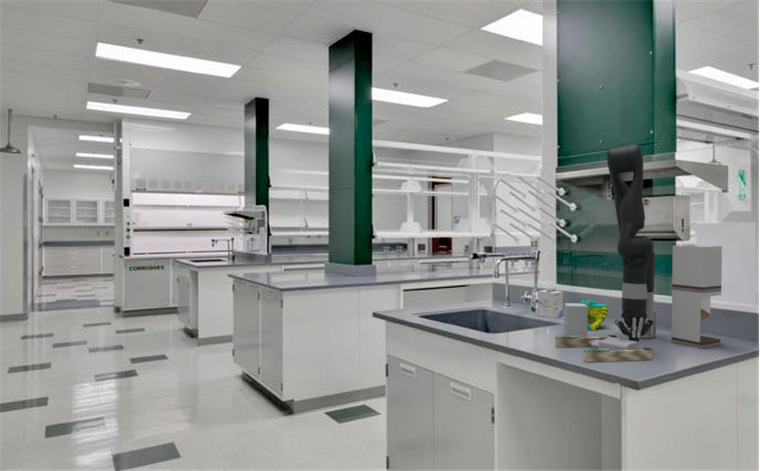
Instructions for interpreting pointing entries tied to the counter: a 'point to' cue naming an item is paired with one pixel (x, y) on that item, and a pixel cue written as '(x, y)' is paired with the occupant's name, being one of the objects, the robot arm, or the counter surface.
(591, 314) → the organ model
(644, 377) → the counter surface
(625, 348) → the charger
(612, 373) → the counter surface
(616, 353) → the railed run
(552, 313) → the ink box
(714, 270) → the coffee maker
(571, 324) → the supplement box
